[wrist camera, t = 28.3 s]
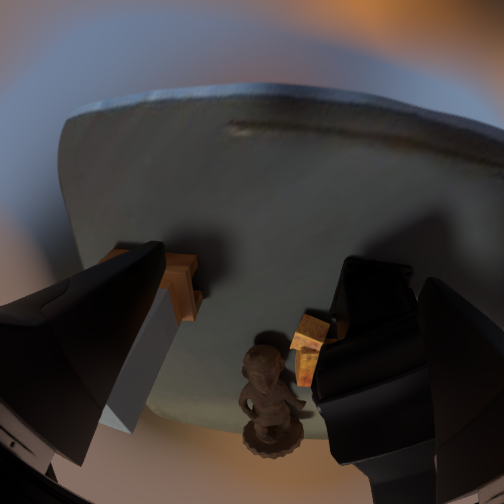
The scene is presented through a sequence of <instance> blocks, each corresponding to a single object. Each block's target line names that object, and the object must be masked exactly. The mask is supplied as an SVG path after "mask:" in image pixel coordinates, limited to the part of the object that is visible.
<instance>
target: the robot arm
mask: <svg viewBox="0 0 504 504" xmlns="http://www.w3.org/2000/svg"><path fill="white" fill-rule="evenodd" d="M349 263H352V265H348V264H349ZM165 270H166V255H165V246H164V244H163V242H159V241H150V242H147V243H145V244H143V245H140V246H138V247H136V248H133V249H131V250H129V251H126V252H124V253H122V254H119V255H117V256H115V257H113V258H110V259H108V260H106V261H104V262H101V263H99V264H97V265H95V266H93V267H90V268H88V269H86V270H84V271H82V272H80V273H77V274H75V275H73V276H72V277H71V278H70V277H69V278H67V279H64V280H62V281H60V282H58V283H56V284H54V285H51V286H50V287H47V288H45V289H42V290H40V291H38V292H35V293H33V294H30V295H28V296H26V297H23V298H21V299H18V300H16V301H13V302H11V303H9V304H6V305H3V306H0V504H95V503H93V502H91V501H89V500H87V499H85V498H83V497H81V496H79V495H77V494H75V493H74V492H72V491H70V490H68V489H67V488H65V487H63V486H62V485H60V484H58V481H57V479H56V476H55V473H54V470H53V467H52V464H51V460H52V458H53V456H54V453H57V454H58V455H60V456H62V457H64V458H65V459H67V460H69V461H71V462H73V463H74V464H76V465H78V466H80V467H81V466H82V464H83V462H84V459H85V456H86V454H87V451H88V448H89V446H90V443H91V440H92V438H93V435H94V433H95V430H96V428H97V425H98V423H99V420H100V418H101V416H102V413H103V410H104V408H105V406H106V403H107V401H108V398H109V396H110V394H111V391H112V389H113V387H114V385H115V382H116V380H117V378H118V376H119V373H120V371H121V369H122V367H123V365H124V362H125V360H126V358H127V356H128V354H129V352H130V350H131V347H132V345H133V343H134V341H135V339H136V337H137V335H138V333H139V331H140V329H141V327H142V325H143V323H144V321H145V319H146V317H147V315H148V313H149V311H150V308H151V306H152V304H153V301H154V299H155V296H156V294H157V291H158V288H159V285H160V283H161V280H162V278H163V275H164V272H165ZM407 271H409V272H408V273H406V272H407ZM413 273H414V272H413V269H412V267H411V266H406V265H399V264H392V263H385V262H377V261H370V260H363V259H356V258H347V259H346V260H345V261H344V263H343V267H342V271H341V274H340V278H339V281H338V285H337V288H336V292H335V295H334V298H333V302H332V305H331V308H330V312H329V313H330V317H331V318H334V319H336V323H337V334H338V341H336V342H333V343H331V344H328V343H327V344H324V345H321V348H320V352H319V356H318V360H317V363H316V367H315V371H314V374H313V378H312V383H311V390H312V393H313V394H312V399H313V401H314V402H315V404H316V407H317V409H318V411H319V413H320V415H321V416H322V417H323V418H324V420H325V424H326V427H327V432H328V438H329V445H330V452H331V455H332V456H333V457H334V458H335V460H336V461H337V462H338V463H339V465H341V466H344V465H349V464H353V465H354V466H356V467H357V468H358V469H359V470H360V471H361V472H363V473H364V474H365V475H366V476H367V477H368V478H369V482H370V486H371V492H372V497H373V503H374V504H447V503H450V502H453V501H456V500H459V499H462V498H465V497H468V496H471V495H473V494H476V493H478V498H479V502H478V503H475V504H504V332H503V330H502V329H501V328H500V327H498V326H497V325H496V324H495V323H494V322H493V321H491V320H490V319H489V318H488V317H487V316H485V315H484V314H483V313H482V312H481V311H479V310H478V309H477V308H476V307H475V306H473V305H472V304H471V303H470V302H468V301H467V300H466V299H465V298H463V297H462V296H461V295H459V294H458V293H457V292H456V291H454V290H453V289H452V288H450V287H449V286H448V285H446V284H445V283H444V282H443V281H441V280H440V279H438V278H433V277H428V278H427V279H426V281H425V283H424V285H423V287H422V289H421V291H420V294H419V296H418V302H417V300H416V297H415V295H414V293H413V290H412V289H411V288H408V285H409V283H410V281H411V278H412V276H413ZM333 313H336V314H333Z"/></svg>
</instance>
